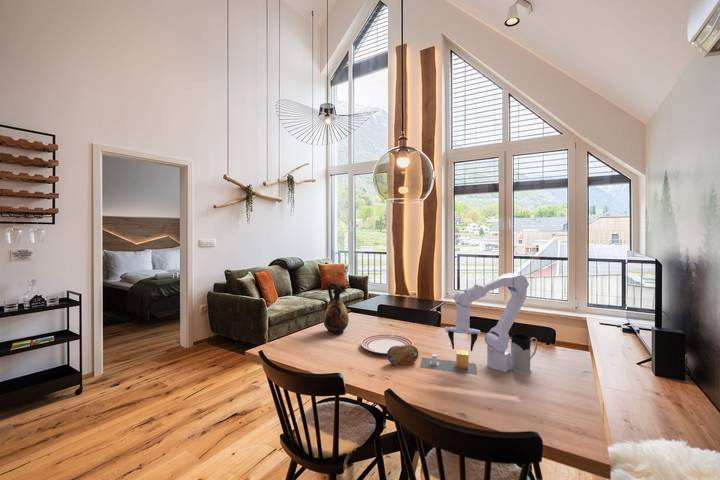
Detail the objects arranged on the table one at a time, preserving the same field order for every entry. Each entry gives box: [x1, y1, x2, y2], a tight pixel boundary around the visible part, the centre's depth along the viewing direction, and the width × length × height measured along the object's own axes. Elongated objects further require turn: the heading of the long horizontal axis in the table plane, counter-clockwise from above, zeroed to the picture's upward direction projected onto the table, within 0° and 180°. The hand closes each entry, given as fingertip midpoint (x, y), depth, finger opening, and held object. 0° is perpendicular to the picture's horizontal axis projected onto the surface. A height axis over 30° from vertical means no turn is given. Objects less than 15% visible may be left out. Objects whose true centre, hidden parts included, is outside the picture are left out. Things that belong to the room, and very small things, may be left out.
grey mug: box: [510, 333, 538, 375], centre depth 144 cm, size 9×14×15 cm, turn 111°
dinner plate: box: [360, 333, 414, 355], centre depth 170 cm, size 28×27×3 cm
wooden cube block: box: [455, 349, 470, 370], centre depth 142 cm, size 5×5×7 cm
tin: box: [386, 345, 419, 366], centre depth 150 cm, size 15×3×8 cm, turn 105°
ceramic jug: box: [322, 282, 350, 336], centre depth 195 cm, size 17×15×30 cm
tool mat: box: [419, 353, 478, 376], centre depth 144 cm, size 24×12×6 cm, turn 74°
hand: (462, 349), depth 142 cm, fingers open, 7 cm apart
